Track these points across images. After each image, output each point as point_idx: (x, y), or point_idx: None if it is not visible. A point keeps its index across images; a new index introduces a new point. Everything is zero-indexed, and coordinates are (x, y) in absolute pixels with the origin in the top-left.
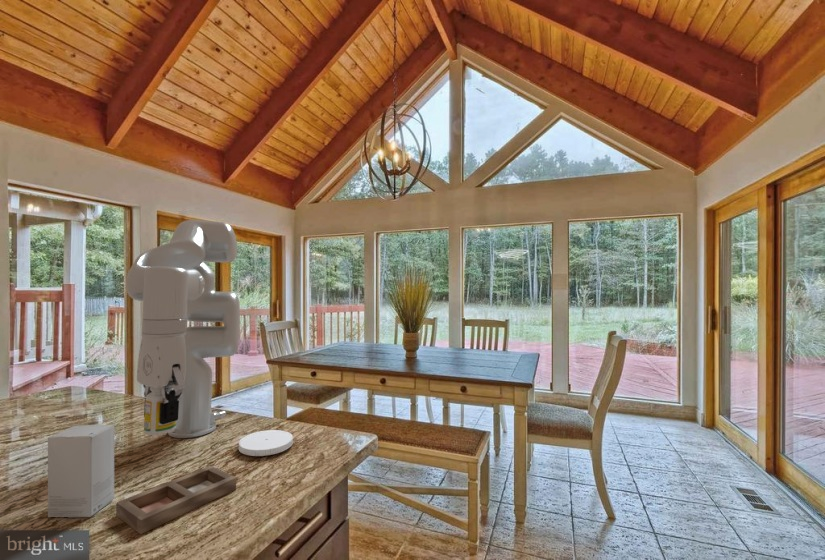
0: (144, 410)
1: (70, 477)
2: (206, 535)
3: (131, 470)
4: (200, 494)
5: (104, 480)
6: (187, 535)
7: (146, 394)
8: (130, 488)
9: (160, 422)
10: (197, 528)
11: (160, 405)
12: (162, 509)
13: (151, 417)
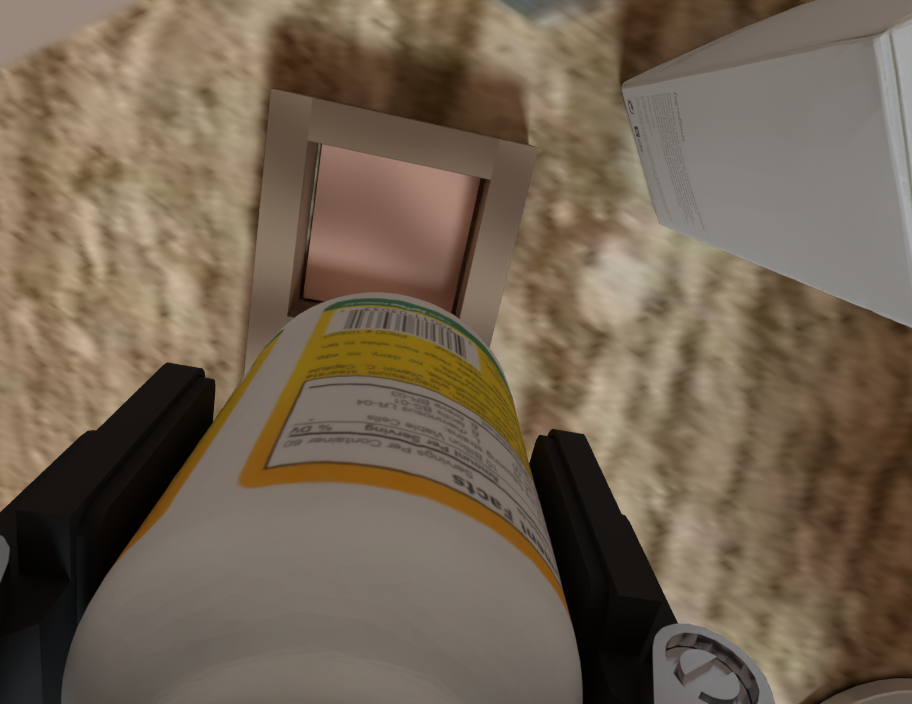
0: (595, 472)
1: (819, 6)
2: (34, 198)
3: (823, 420)
4: (247, 355)
5: (687, 170)
6: (103, 166)
7: (682, 671)
8: (681, 318)
9: (171, 367)
10: (115, 218)
11: (73, 491)
12: (271, 193)
13: (293, 365)
